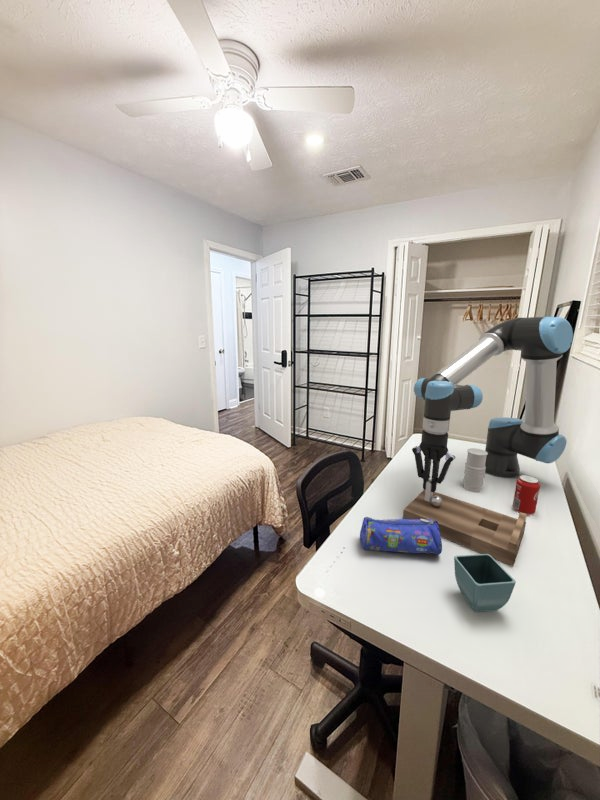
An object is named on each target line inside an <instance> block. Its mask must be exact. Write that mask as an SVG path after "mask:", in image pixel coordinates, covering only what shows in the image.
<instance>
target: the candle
mask: <svg viewBox="0 0 600 800" xmlns="http://www.w3.org/2000/svg"><path fill="white" fill-rule="evenodd" d="M466 452H467V454H466V455H467V456H466V457H467V458H466V462H465V466H464V471H463V473H464V475H463V484H464V485H463V488H464V489H465V490H467V491H469V492H473V493H479V492H481V491H482V488H483V487H484V478H485V477H486V472H485V469H486V466H485V463H486V456H487V455H488V453H487V452H486V451H485V449H480V448H475V447H474V448H473V447H472V448H468V449H467V450H466Z"/></svg>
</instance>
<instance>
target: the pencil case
mask: <svg viewBox="0 0 600 800" xmlns="http://www.w3.org/2000/svg"><path fill="white" fill-rule="evenodd" d="M439 532H440V529H439V527H438V521H433V520H431V519H420V520H418V519H416V520H413V519H412V520H409V519H403V518H399V519H398V518H395V519H393V518H392V519H375V518H372V517H369V516H364V517H363V520H362V524H361V528H360V532H359V540H360V544H361V547H362V549H363V550H368V551H369V550H371V551H373V550H374V551H380V552H382V551H383V552H397V553H408V554H427V555H428V554H434V555H437V556H438V555H441V554H442V551H443V543H442V542H443V541H442V538H441V536H440V533H439Z"/></svg>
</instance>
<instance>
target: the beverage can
mask: <svg viewBox="0 0 600 800" xmlns="http://www.w3.org/2000/svg"><path fill="white" fill-rule="evenodd" d="M540 487H541V484H540V483H539V480H538V478H536V477H533V476H531V475H519V477H518V478H517V479H516V482H515V489H514V496H513V500H512V509H513V510H514V511H515V512H516V513H517V514H518V515H520V512H521V513H525V514H526V517H528V516H532V515H534V514H536V512H537V511H536V510H537V504H538V499H539V494H540Z"/></svg>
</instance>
